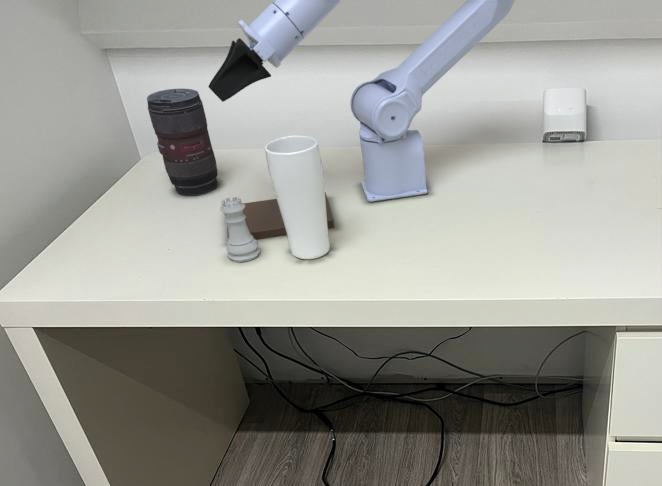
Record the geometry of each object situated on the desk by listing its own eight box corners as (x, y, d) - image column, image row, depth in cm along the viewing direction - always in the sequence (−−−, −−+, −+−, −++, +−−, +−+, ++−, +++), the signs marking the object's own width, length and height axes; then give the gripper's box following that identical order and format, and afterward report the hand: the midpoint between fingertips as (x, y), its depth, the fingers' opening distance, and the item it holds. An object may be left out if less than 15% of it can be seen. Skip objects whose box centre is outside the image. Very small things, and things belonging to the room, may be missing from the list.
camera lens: (208, 199, 119) (183, 103, 110) (163, 197, 120) (134, 102, 111) (231, 179, 125) (208, 87, 116) (187, 177, 127) (161, 86, 118)
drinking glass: (313, 267, 99) (292, 157, 90) (276, 256, 102) (252, 148, 93) (346, 246, 103) (329, 139, 94) (309, 237, 106) (289, 132, 97)
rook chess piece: (267, 250, 104) (254, 195, 99) (249, 264, 100) (236, 209, 95) (239, 246, 105) (226, 192, 100) (221, 261, 102) (206, 205, 97)
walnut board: (326, 198, 117) (325, 191, 116) (334, 227, 108) (333, 220, 108) (229, 212, 114) (227, 205, 114) (229, 243, 106) (227, 235, 105)
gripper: (259, -2, 103) (190, 68, 103) (271, -9, 90) (192, 70, 91) (296, 41, 106) (229, 108, 107) (312, 40, 94) (236, 116, 94)
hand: (215, 94), depth 99 cm, fingers open, 7 cm apart
